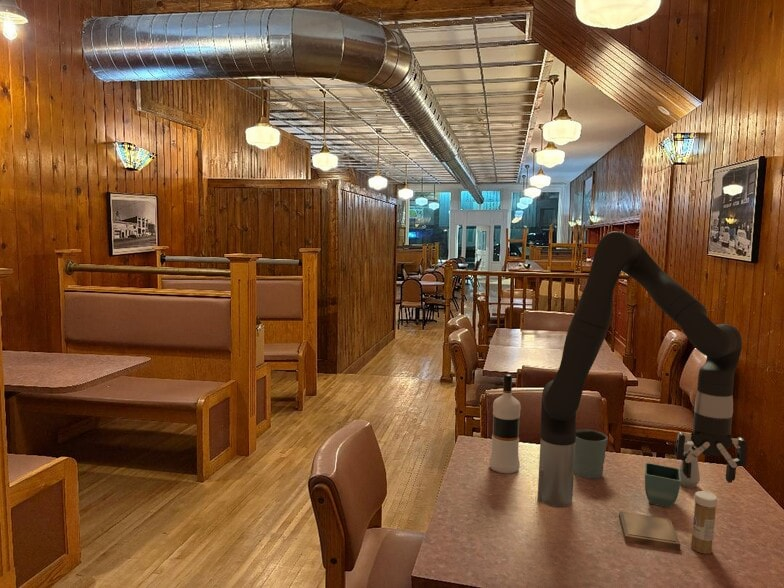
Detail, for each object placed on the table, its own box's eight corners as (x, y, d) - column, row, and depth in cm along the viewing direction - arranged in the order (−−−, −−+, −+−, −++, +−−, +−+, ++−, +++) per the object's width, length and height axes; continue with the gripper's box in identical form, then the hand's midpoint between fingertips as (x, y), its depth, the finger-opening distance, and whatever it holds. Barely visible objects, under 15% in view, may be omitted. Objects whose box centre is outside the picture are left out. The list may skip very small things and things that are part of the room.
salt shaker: (703, 489, 160) (706, 446, 159) (683, 489, 161) (686, 446, 159) (692, 480, 166) (696, 438, 165) (673, 480, 166) (676, 438, 165)
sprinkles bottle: (686, 544, 132) (690, 490, 131) (704, 543, 133) (708, 490, 131) (698, 555, 128) (703, 500, 126) (717, 554, 128) (722, 499, 127)
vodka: (484, 463, 176) (487, 371, 173) (511, 460, 178) (515, 370, 175) (496, 476, 167) (500, 379, 164) (524, 473, 169) (529, 377, 166)
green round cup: (570, 476, 168) (572, 438, 166) (570, 463, 177) (572, 427, 176) (606, 481, 165) (609, 442, 163) (604, 467, 174) (606, 431, 173)
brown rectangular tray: (624, 541, 133) (625, 535, 133) (618, 516, 144) (619, 510, 144) (679, 550, 130) (680, 543, 130) (669, 524, 141) (669, 518, 141)
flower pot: (677, 498, 155) (679, 468, 154) (678, 513, 147) (681, 480, 146) (642, 492, 158) (645, 462, 157) (642, 505, 151) (644, 474, 149)
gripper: (742, 409, 128) (737, 476, 130) (675, 403, 132) (670, 468, 134) (754, 419, 121) (748, 490, 123) (682, 413, 125) (677, 482, 127)
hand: (707, 479), depth 128 cm, fingers open, 8 cm apart
